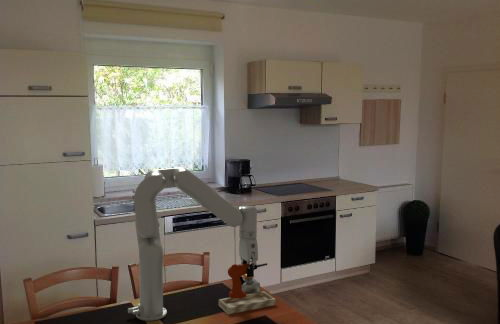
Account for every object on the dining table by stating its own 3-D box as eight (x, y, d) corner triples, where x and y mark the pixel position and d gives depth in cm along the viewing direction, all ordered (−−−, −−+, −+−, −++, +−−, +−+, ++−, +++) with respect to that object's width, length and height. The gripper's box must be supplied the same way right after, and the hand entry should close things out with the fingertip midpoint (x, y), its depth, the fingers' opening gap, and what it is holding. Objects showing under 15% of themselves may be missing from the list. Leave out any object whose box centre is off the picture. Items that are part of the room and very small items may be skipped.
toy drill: (271, 291, 202) (268, 259, 200) (230, 301, 197) (226, 268, 195) (268, 287, 206) (265, 256, 204) (228, 296, 202) (224, 264, 199)
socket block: (244, 298, 210) (244, 285, 209) (237, 292, 217) (237, 280, 216) (259, 295, 213) (260, 283, 213) (251, 289, 220) (252, 277, 220)
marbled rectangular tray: (227, 314, 192) (228, 308, 192) (218, 305, 201) (218, 299, 201) (275, 304, 203) (275, 298, 202) (264, 296, 212) (264, 291, 211)
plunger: (245, 295, 212) (246, 276, 211) (241, 292, 216) (241, 273, 215) (255, 294, 214) (255, 275, 213) (250, 290, 218) (250, 271, 217)
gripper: (264, 237, 193) (264, 279, 195) (246, 229, 208) (246, 268, 210) (249, 239, 190) (248, 282, 191) (232, 230, 205) (231, 270, 206)
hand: (247, 274), depth 201 cm, fingers closed on toy drill, 4 cm apart
